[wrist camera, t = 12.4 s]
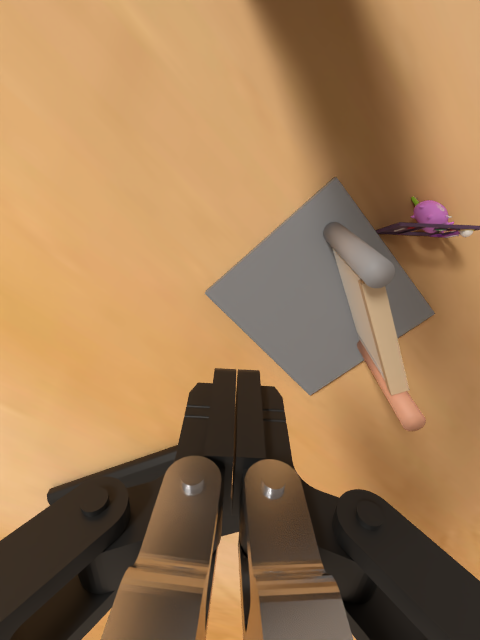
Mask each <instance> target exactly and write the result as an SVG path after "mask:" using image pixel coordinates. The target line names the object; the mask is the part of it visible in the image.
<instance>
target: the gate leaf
mask: <svg viewBox="0 0 480 640" xmlns="http://www.w3.org/2000/svg"><path fill="white" fill-rule="evenodd" d="M333 252H334V256H335V259H336V262H337V266H338V269H339V273H340V276H341V279H342V283H343V286H344V290H345V293H346V296H347V300H348V303H349V307H350V310H351V313H352V317H353V320H354V324H355V327H356V330H357V334H358V337H359V339H360V341H361V342H362V344H363V346H364V347H365V349H366V351H367V352H368V354H369V355H370V357H371V359H372V360H373V362H374V364H375V365H376V367H377V369H378V370H379V372H380V373H381V375H382V377H383V378H384V380H385V382H386V386H387V389H388V391H389V392H390V394H391V395H395V394H398V393H402V392H405V391H408V390H409V386H408V381H407V377H406V373H405V368H404V364H403V360H402V356H401V351H400V347H399V343H398V339H397V334H396V330H395V326H394V322H393V317H392V313H391V309H390V305H389V300H388V296H387V292H386V288H385V286H384V287H382V288H371V287H369V286H368V285H366V283H365V282H364V281H363V280H362V279H361V278H360V277H359V276H358V275H357V274H356V273H355V271H354V270H353V269H352V268H351V267H350V266H349V265H348V264H347V263H346V262H345V261H344V259H343V258H342V257H341V256H340V255H339V254H338V253H337V252H336V251H335V250H334V248H333Z"/></svg>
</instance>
